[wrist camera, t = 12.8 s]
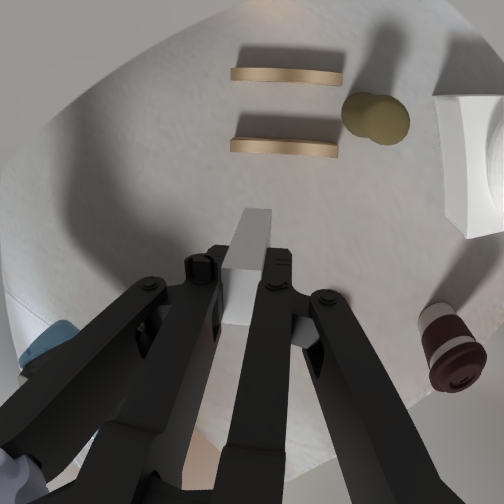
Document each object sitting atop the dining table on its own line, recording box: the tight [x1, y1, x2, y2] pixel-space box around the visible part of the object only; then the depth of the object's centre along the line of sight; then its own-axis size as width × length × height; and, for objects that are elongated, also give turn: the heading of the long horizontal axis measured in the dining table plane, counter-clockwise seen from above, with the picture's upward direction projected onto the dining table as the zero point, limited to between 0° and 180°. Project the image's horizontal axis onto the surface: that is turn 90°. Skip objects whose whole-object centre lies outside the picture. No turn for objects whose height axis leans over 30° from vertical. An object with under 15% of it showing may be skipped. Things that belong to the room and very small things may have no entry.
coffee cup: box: [418, 302, 487, 393], centre depth 42 cm, size 10×10×15 cm
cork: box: [341, 92, 410, 145], centre depth 30 cm, size 6×6×11 cm
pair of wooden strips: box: [230, 68, 343, 158], centre depth 35 cm, size 13×10×3 cm
